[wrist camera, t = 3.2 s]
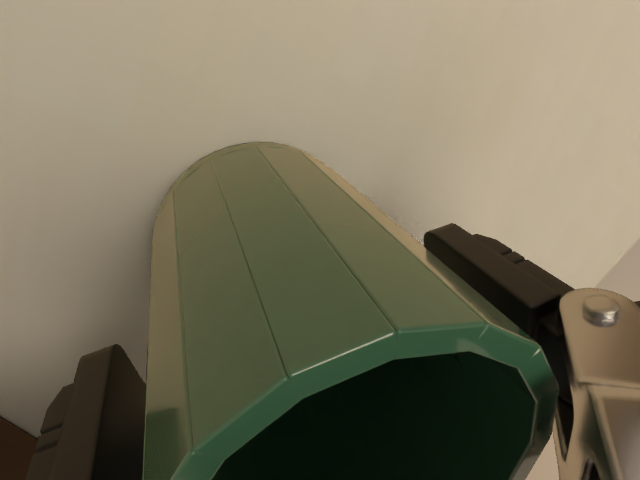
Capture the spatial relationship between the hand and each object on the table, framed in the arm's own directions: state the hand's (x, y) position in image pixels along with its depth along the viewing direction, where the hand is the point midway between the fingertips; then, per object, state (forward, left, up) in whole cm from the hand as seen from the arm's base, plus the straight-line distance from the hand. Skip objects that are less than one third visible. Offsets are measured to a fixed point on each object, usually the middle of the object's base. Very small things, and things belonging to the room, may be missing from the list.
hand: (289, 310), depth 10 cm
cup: (0, 0, -3) cm, 3 cm away
